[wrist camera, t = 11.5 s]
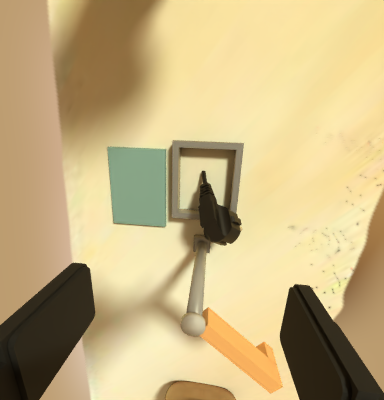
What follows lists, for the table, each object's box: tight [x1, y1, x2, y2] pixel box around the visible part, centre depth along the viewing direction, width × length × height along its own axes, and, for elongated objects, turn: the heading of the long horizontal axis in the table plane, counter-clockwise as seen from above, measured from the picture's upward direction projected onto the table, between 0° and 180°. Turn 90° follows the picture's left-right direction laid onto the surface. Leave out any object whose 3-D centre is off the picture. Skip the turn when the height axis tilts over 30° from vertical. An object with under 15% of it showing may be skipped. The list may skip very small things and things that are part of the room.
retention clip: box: [181, 307, 283, 393], centre depth 25 cm, size 15×3×5 cm, turn 47°
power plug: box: [199, 171, 242, 246], centre depth 34 cm, size 6×8×12 cm
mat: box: [108, 147, 166, 227], centre depth 37 cm, size 14×10×1 cm
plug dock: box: [172, 140, 244, 315], centre depth 28 cm, size 20×11×18 cm, turn 178°
